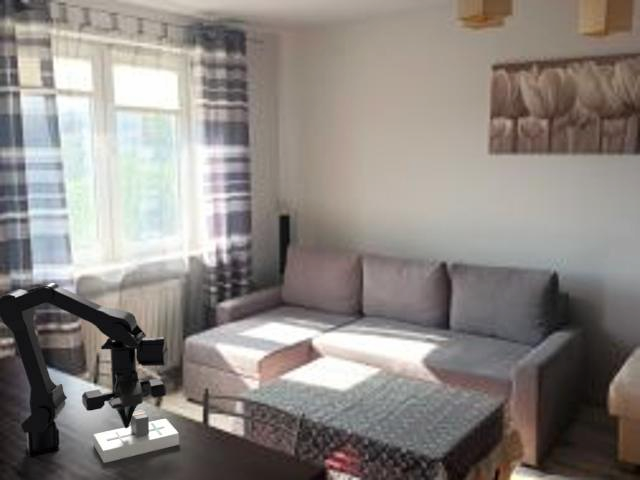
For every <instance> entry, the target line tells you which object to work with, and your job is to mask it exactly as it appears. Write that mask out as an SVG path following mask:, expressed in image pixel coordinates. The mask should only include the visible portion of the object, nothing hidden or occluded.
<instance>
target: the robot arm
mask: <svg viewBox="0 0 640 480" xmlns="http://www.w3.org/2000/svg"><path fill="white" fill-rule="evenodd" d="M46 303H48V304H49V305H51V306H53V307H56V308H58V309H60V310H63V311H64V312H66V313H69V314H70V315H72V316H76V317H77V318H79V319H81V320H84V321H86V322H88V323H89V324H92V326H93V325H94V326H95V328H97V329H98V330H99V332H100V333H101V334H103V335H105V336H106V337H107V339H106V341H105V342H104V343H103V344H102V345H101V346H100V349H101V350H110V351H109V352H110V373H111V391H109V392H104V393H103V392H101V389H93V390H89V391H84V393H83V394H82V396H81V401H82V405H83V406H84V408H85V410H86V411H89V412H91V411H96V410H101V409H102V408H104V406H105V404H106V403H105V402H107V403H108V405H109V406H110V407H111V409H114V410H115V409H116V411H117V413H118V416H119V418H120V420H121V423H122V425H123V428H124V427H125V428H128V427H129V426H131V418H132V415H133V412H134V411H136V408H137V406H139V405H141V404H143V403H144V398H148V397H149V396H151V397H152V398H160V397H164V396H166V395H167V386H166V385H165V383H164V382H163V381H162V380H161V379H159V378H151V379H147V380H140V379H139V376H138V371H137V362H138V365H140V366H142V367H166V366H168V361H169V347H168V343H167V341H166V336H159V337H158V336H157V337H146V336H147V334H146V333H145V331H144V330H142V328H141V327H140V325H139V324H138V323H137V319H136V316H135V314H133V313H132V312H129V311H126V310H122V309H118V308H111V307H105V306H103V305H99V304H98V303H95V302H94V301H91V300H89V299H87V298H85V297H84V296H83V297H82V296H81V295H78V294H76V293H74V292H72V291H70V290H68V289H65V288H64V287H61V286H60V285H58V284H57V283H54V282H48V283H46V284H44V285H41V286H37V287H34V288H30V289H28V290H24V289H21V288H19V289H14V290H12V291H10V292H9V293H7V294H4V295H2V296H0V319H1V321H2V323H3V325H5V326H6V328H8V329H9V330H10V332H11V333H12V335H13V338H14V341H15V345H16V347H17V351H18V354H19V357H20V360H21V363H22V366H23V370H24V373H25V375H26V377H27V381H28V384H29V388H30V393H29V409H30V415H29V416H28V417H27V418H26V419H25V420H24V421H22V423H21V425H20V426H21V429H22V431H23V433H25V434H26V445H25V447H26V451H27V453H28V456H29V458H32V457H33V458H34V457H38V456H43V455H45V454H46V455H47V454H49V453H55V452H59V450H60V449H59V446H60V429H59V427H58V425H57V424H56V422H55V420H56V419H57V418H58V416H59V415H60V414H61V413H62V412H63V410H64V408H65V406H66V400H67V399H68V396H66V394H65V391H64V387H63V384H62V383H59V384H56V383H54V381H52V378H51V376H50V373H49V370H48V366H47V363H46V360H45V357H44V354H43V352H42V351H43V350H42V348H41V346H40V343H39V339H38V335H37V332H36V329H35V327H34V319H35V307H38V306H40V305H43V304H46Z"/></svg>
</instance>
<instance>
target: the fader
mask: <svg viewBox="0 0 640 480" xmlns="http://www.w3.org/2000/svg"><path fill="white" fill-rule="evenodd" d="M149 422H150V421H149V415H148V414H147V412H145V410H143V409H139V410H138V409H137V410H134V412H133V415H132V418H131V421H130V426H131V430H132V431H133V433H134V434H135V435H136V437H139V436H143V435H147V434H149Z"/></svg>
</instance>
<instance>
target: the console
mask: <svg viewBox="0 0 640 480" xmlns="http://www.w3.org/2000/svg"><path fill="white" fill-rule="evenodd" d="M179 445H180V433H179V431H177V429H176V428H175V427H174V426H173V425H172V424H171V423H170V422H169V420H168V419H167V418H162V419H156V420H153V421H149V434H147V435H143V436H139V437H136V435H135V434H134V433H133V431H132V430H131V425H129V427H128V428H125V427H124V426H123V427H120V428H115V429H112V430H106V431H102V432H98V433H94V434H93V447H94V448H95V450H96V452H97V453H98V456H99V457H100V459H101V460H102V462H103V464H105V463H109V462H110V463H111V462H114V461H118V460H120V459H125V458H130V457H134V456H137V455H142V454H146V453H149V452H154V451H158V450H162V449H166V448H170V447H174V446H179Z"/></svg>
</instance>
